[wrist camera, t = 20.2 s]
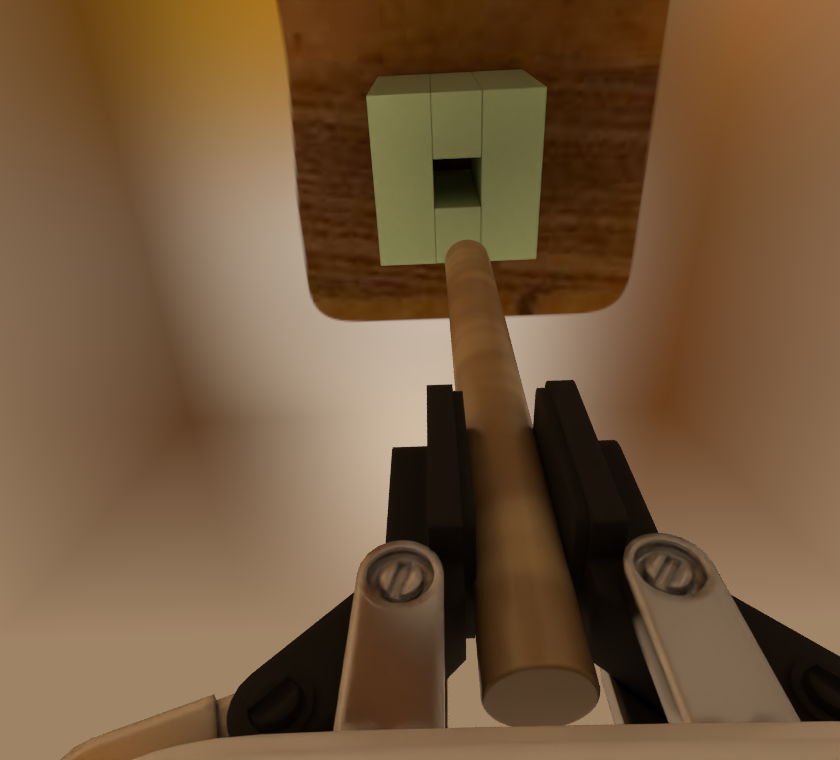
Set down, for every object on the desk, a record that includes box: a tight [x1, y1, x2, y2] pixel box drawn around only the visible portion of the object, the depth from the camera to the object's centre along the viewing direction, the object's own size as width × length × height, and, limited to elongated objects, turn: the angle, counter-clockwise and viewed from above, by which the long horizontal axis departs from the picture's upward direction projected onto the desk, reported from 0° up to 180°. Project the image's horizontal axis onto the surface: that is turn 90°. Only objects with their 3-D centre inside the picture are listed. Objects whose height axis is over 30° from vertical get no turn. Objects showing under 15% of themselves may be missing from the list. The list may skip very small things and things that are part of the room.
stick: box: [445, 240, 600, 727], centre depth 15 cm, size 2×2×16 cm
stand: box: [366, 69, 547, 266], centre depth 33 cm, size 8×8×8 cm
